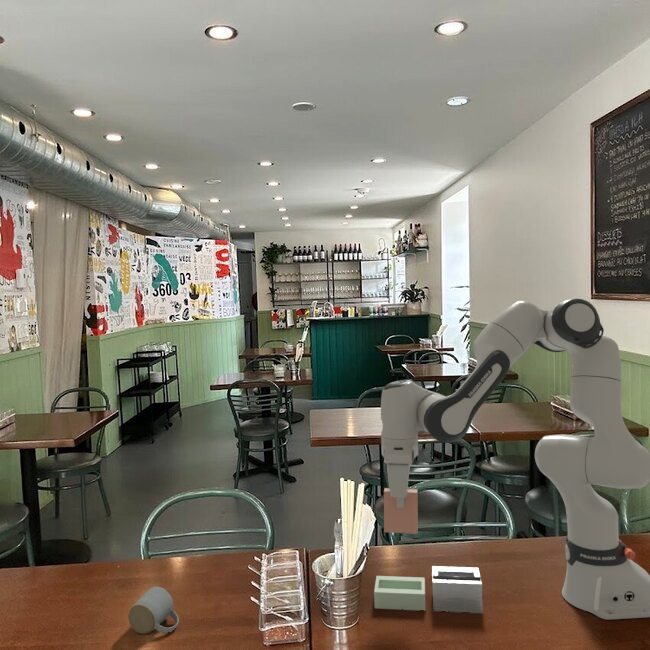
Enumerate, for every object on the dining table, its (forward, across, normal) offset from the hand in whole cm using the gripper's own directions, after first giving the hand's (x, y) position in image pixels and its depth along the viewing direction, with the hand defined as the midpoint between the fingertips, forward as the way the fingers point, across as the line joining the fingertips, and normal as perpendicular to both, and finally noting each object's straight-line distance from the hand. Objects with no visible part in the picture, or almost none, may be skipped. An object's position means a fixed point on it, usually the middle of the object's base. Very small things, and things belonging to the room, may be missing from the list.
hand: (400, 504), depth 139 cm
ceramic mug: (+26, +16, -56) cm, 64 cm away
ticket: (+7, 0, 0) cm, 7 cm away
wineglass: (+24, -19, -17) cm, 35 cm away
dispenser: (+24, 0, +13) cm, 27 cm away
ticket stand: (+24, 0, -1) cm, 24 cm away
